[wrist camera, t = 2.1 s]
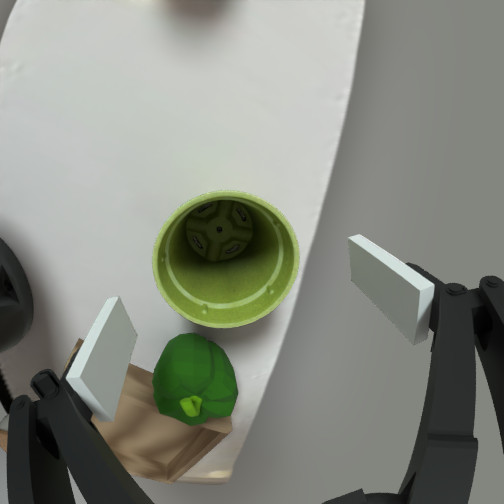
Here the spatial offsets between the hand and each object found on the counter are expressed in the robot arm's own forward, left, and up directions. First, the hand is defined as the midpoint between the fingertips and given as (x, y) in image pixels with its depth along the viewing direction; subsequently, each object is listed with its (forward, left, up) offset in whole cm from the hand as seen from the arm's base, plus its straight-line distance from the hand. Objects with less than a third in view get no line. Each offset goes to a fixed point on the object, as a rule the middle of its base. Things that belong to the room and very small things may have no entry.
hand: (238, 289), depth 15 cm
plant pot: (0, 0, -12) cm, 12 cm away
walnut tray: (+2, -29, -12) cm, 31 cm away
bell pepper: (+4, -14, -12) cm, 18 cm away
